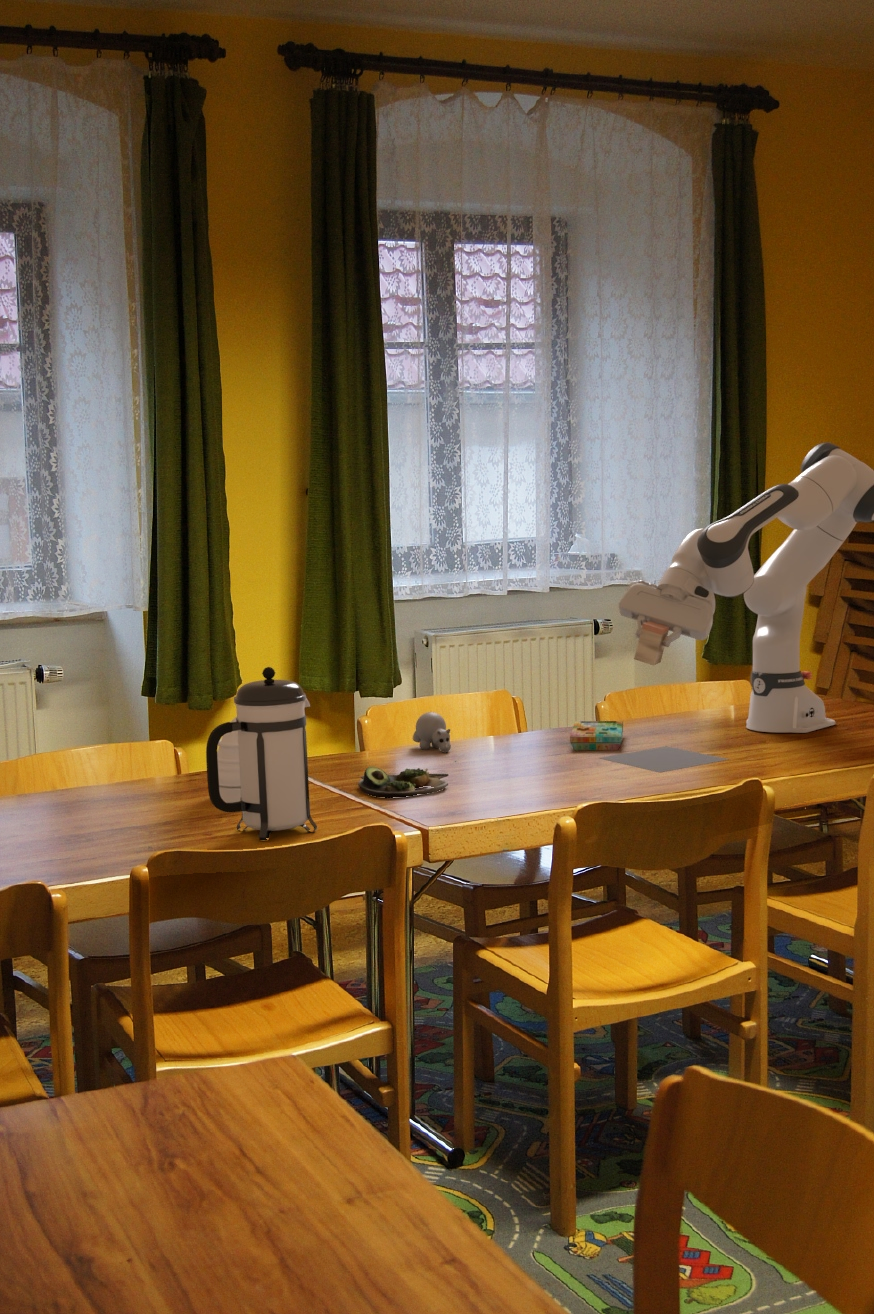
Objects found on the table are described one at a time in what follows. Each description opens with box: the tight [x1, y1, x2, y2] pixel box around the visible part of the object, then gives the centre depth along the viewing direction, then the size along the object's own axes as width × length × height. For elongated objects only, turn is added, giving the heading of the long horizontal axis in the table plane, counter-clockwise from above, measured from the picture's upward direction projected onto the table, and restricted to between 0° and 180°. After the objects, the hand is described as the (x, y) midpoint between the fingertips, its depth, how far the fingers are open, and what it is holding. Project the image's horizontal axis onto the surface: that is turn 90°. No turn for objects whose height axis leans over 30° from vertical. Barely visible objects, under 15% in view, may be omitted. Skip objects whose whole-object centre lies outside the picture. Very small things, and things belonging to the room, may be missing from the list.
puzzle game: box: [569, 720, 624, 752], centre depth 305 cm, size 12×5×20 cm
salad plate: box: [357, 766, 449, 799], centre depth 266 cm, size 19×18×5 cm
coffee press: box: [205, 666, 318, 841], centre depth 231 cm, size 17×16×30 cm
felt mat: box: [599, 745, 730, 773], centre depth 284 cm, size 20×20×1 cm
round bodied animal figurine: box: [412, 711, 452, 753], centre depth 304 cm, size 7×12×8 cm, turn 30°
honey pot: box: [217, 715, 241, 803], centre depth 261 cm, size 13×13×18 cm
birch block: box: [634, 621, 670, 666], centre depth 274 cm, size 4×4×8 cm
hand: (651, 640), depth 274 cm, fingers closed on birch block, 4 cm apart
